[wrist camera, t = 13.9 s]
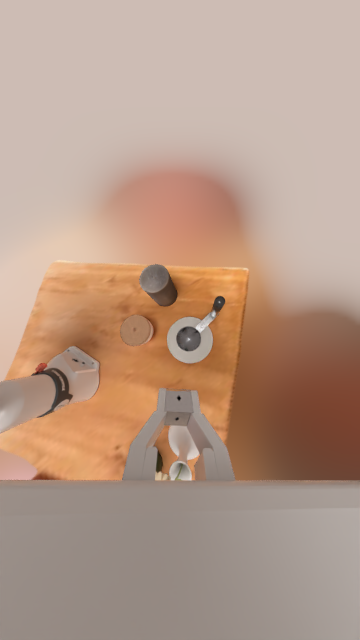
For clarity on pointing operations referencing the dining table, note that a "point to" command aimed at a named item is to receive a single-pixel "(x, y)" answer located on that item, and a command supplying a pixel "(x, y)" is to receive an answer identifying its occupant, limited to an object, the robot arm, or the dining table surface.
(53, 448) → the dining table surface
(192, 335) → the saucepan with upright handle
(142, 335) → the lidded jar
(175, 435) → the flower in vase
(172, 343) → the light grey round disc
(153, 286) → the pillar candle
